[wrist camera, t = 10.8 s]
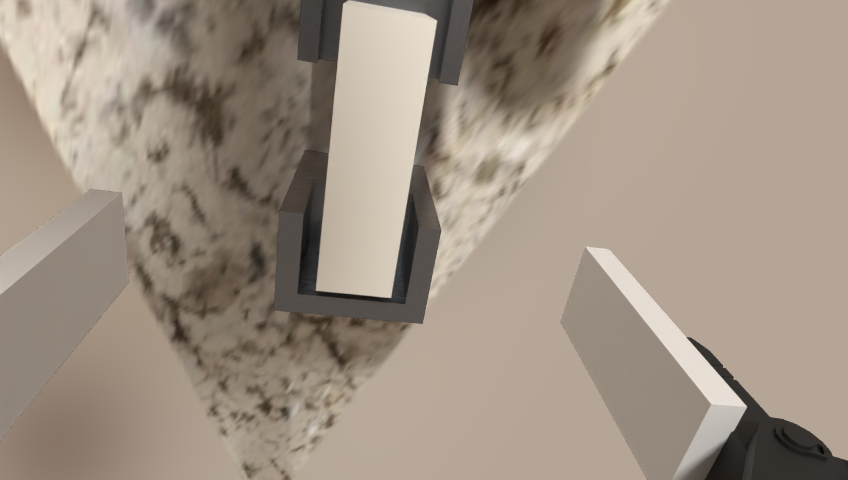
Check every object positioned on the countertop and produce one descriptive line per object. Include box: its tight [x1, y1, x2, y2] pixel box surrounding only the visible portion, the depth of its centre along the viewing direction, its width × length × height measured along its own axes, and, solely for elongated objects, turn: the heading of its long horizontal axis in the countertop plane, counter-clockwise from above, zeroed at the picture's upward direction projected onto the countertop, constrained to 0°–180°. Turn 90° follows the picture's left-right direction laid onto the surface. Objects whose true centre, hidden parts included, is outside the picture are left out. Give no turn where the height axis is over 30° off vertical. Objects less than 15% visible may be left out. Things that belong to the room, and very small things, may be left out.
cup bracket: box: [274, 150, 441, 324], centre depth 34 cm, size 6×8×11 cm
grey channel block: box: [297, 0, 474, 86], centre depth 30 cm, size 6×8×8 cm
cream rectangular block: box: [316, 0, 437, 298], centre depth 28 cm, size 14×4×6 cm, turn 170°
